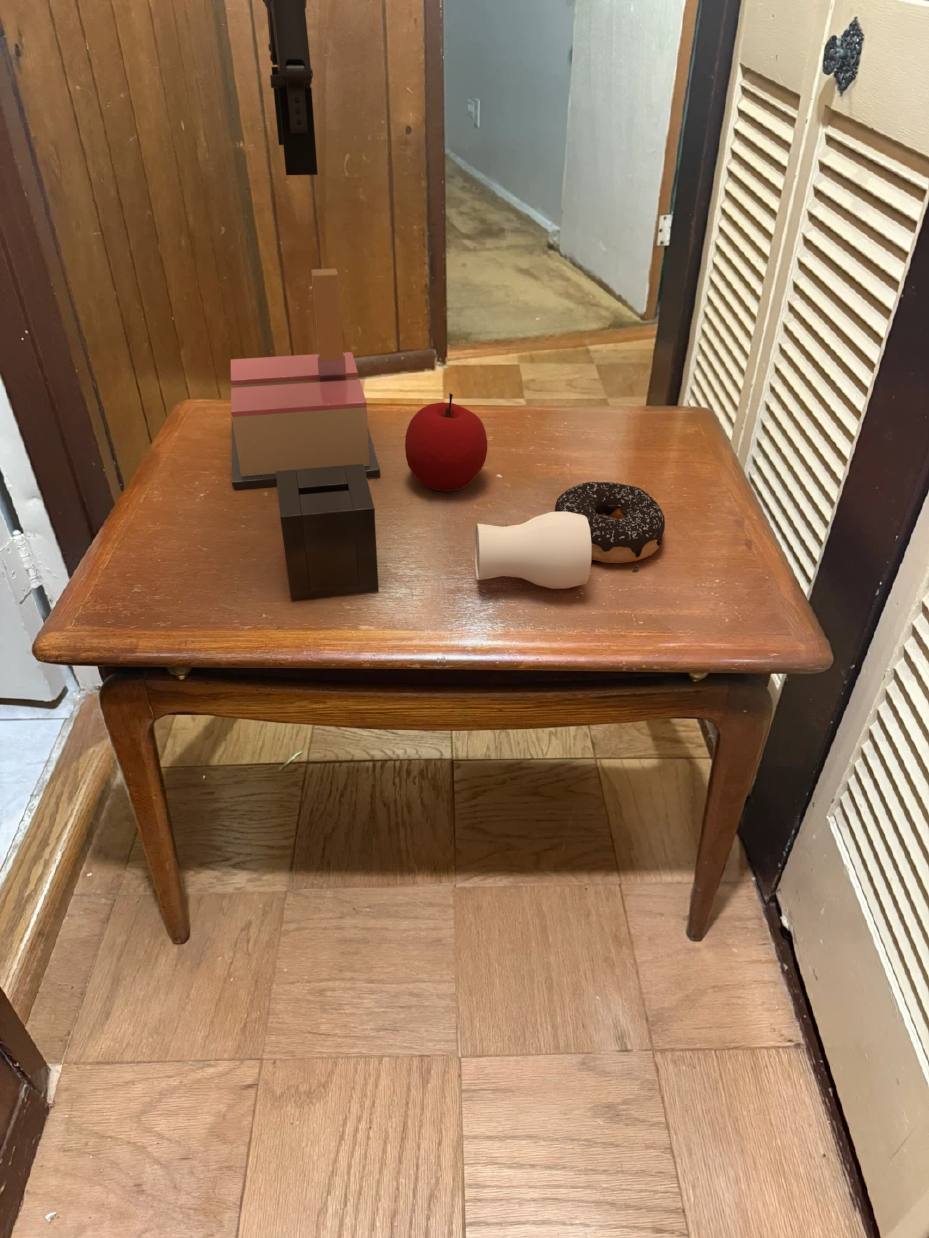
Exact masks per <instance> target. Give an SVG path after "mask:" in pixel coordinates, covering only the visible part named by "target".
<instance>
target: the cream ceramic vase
mask: <svg viewBox="0 0 929 1238" xmlns="http://www.w3.org/2000/svg"><path fill="white" fill-rule="evenodd" d="M591 553H592V551H591V533H590V527H589V523H588V520H587V518H586V517H585V516H584V515H580V514H576V513H571V512H554V511H550V512H546V513H543V514H540V515H537V516H535V517H533V518H530V519H529V520H527V521H525V522H523V523H520V524H514V525H513V524H512V525H506V526H499V525H493V524H487V523H476V524H475V529H474V564H475V565H474V566H475V567H474V568H475V576H476V580H477V581H481V580H488V579H494V578H498V577H511V578H520V579H523V580H526V581H528V582H530V583H532V584H534V585H536V586H540V587H545V588H548V589H552V590H553V589H554V590H555V589H570V588H574V587H578V586H582V585H586V584H587V582H588V581H589V578H590V573H591V568H592V559H591Z"/></svg>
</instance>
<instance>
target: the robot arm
mask: <svg viewBox="0 0 929 1238" xmlns="http://www.w3.org/2000/svg"><path fill="white" fill-rule="evenodd" d="M307 1H308V0H262V2H263V4H264V6H265V8H266V16H267V27H268V29H267V30H268V39H269V43H268V51H269V52H270V54H269V60H270V61H271V64H272V66H271V74H269V77H270V78H269V81H270V89H273V98H274V109H275V121H276V131H277V132H276V133H277V141H278V146H283V147H282V148H283V157H284V167H285V168H284V169H285V176H318V175H319V174H318V160H317V147H316V146H317V145H316V133H315V132H316V131H315V119H314V104H313V102H314V101H313V92H312V91H313V89H312V86H311V84H312V83H313V81H312V80H313V78H314V71H313V69H312V67H311V57H310V46H309V36H308V26H307V24H308V23H307V15H306V9H307Z"/></svg>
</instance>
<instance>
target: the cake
mask: <svg viewBox="0 0 929 1238" xmlns="http://www.w3.org/2000/svg"><path fill="white" fill-rule="evenodd" d="M343 354H344V355H345V365H346V380H345V381H330V382H319V371H318V360H317V357H319V354H318V353H315V354H303V355H302V354H300V355H299V354H298V355H281V356H266V357H263V356H262V357H250V358H234V359H233V358H232V359H230V384H231V385H230V386H231V388H230V413H231V484H232V490H233V491H237V490H239V491H240V490H250V489H262V488H272V487H273V488H274V487H277V478H276V471H284V470H296V469H307V468H319V467H331V466H344V465H355V464H363V465H364V469H365V473H366V477H367V479H376V478H381V468H380V465H379V462H378V458H377V454H376V451H375V446H374V444H373V440H372V436H371V432H370V428H369V425H368V407H367V406H368V405H367V404H368V403H367V398H366V396H365V392H364V389H363V385H362V383H361V379H359V371H358V367H357V365H356V361H355V357H354V354H353V352H352V351H350V352H349V351H347V352H346V351H345V352H343Z"/></svg>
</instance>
